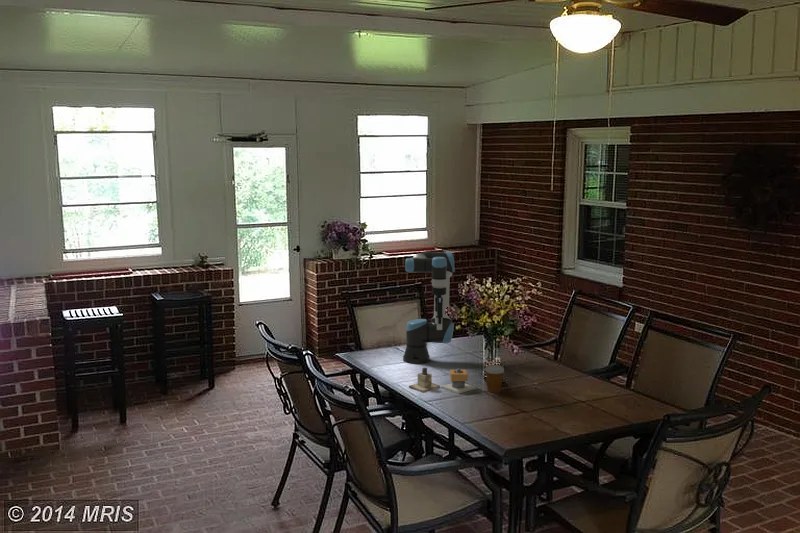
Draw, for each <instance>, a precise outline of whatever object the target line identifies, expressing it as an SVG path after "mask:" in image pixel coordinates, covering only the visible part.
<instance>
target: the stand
mask: <svg viewBox="0 0 800 533" xmlns="http://www.w3.org/2000/svg"><path fill="white" fill-rule="evenodd" d="M421 370H422V372H420V373H419V372H418V373H417V382H416V383H415V384H411V385H408V388H409V389H411V390H414V391H418V392H420V393H426V392H429V391H433V390H436V389H440V388H441V385H439V384H436V383H433V382H432V379H433V377H432V376H433V375H432V373H429V372H428V368H427V367H422V369H421Z"/></svg>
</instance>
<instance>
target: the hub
mask: <svg viewBox="0 0 800 533" xmlns="http://www.w3.org/2000/svg"><path fill="white" fill-rule="evenodd" d="M455 370H456V373H461V370H462V369H461V368H456V369H455ZM440 388H441V389H444V390H446V391H449V392H453V393H455V394H458V395H459V394H462V393H466V392H469V391H473V390H475V389H476V386H473V385H470V384H467V383H466V381H451V383H448V384H444V385H440Z"/></svg>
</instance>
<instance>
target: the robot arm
mask: <svg viewBox="0 0 800 533" xmlns="http://www.w3.org/2000/svg"><path fill="white" fill-rule="evenodd" d="M454 259H455V258H454V253H453V252H450V251H423V252H419V253H416V254H414V255H413V256H412V257H410V258H409V257H407V258H406V259H405V264H404V265H405V266H404V268H405V269H404V270H405V272H407V273H431V280H430V283H431V295H434V299H433V300H434V301H433V303H434V304H433V317H432V318H430V321H428V320H427V319H426V318H416V319H412V320H408V321H407V323H406V329H405V331H406V338H405V339H406V340H405V341H406V342H405V343H406V345H405V350H404V354H403V356H402V360H403V362H404V363H409V364H426V363H428V362H430V360H431V359H430V357H431V356H430V354H429V350H428V347H427V346H428V345H427V344H449V343H452V340H453V335H454V334H453V333H454V328H455V326H454V325H455V323H454V322H452V318H450V315H449V316H448V315H446V314H445V309H446V308H447V307H449V308H450V285H451V284H450V281H451V280H450V278H451V277H452V276H453V273H454V272H455V271H456V268H455V260H454Z"/></svg>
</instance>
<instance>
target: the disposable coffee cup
mask: <svg viewBox="0 0 800 533" xmlns="http://www.w3.org/2000/svg"><path fill="white" fill-rule="evenodd" d="M484 371H485V376H486V377H485V378H486V384H487V392H490V393H494V394H495V393H500V392H501V389H502V384H503V376H504V373H505V369H504V366H503V365H500V364H499V365H498V364H489V365H486V366H485V368H484Z"/></svg>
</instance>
